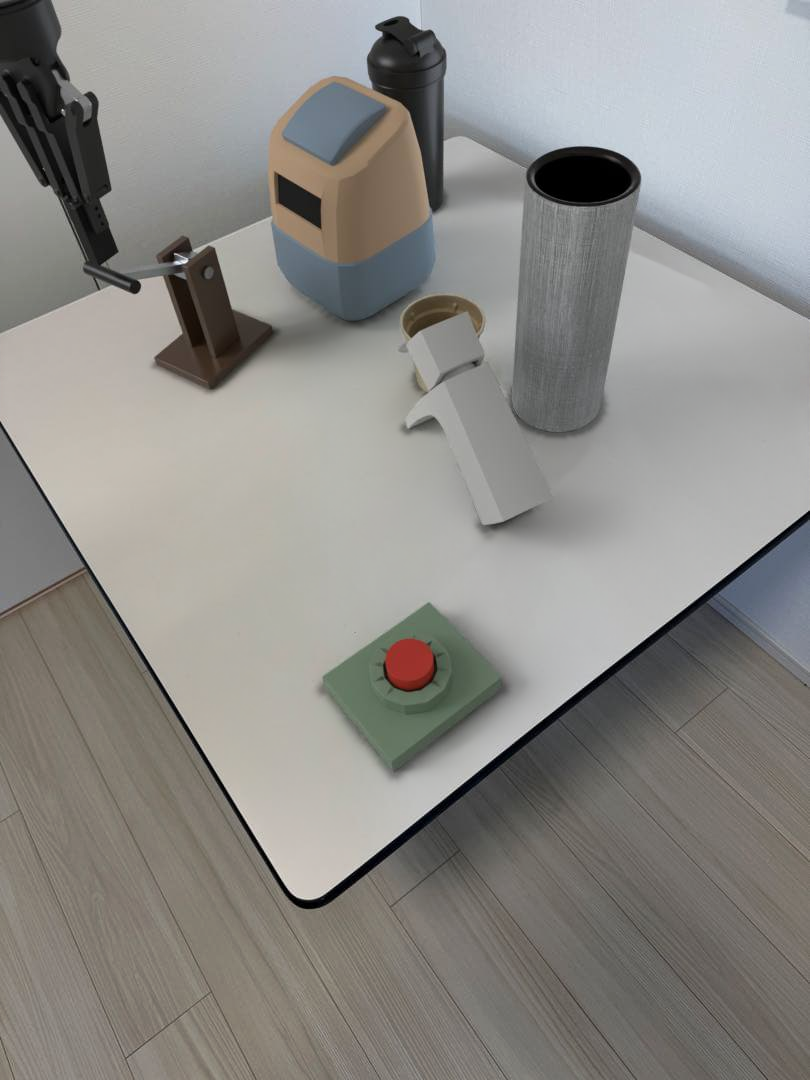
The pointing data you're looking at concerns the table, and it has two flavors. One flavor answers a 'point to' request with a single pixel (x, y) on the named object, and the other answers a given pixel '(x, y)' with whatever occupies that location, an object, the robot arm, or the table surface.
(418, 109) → the water bottle
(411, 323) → the flower pot
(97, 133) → the robot arm
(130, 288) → the tap lever
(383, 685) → the button box
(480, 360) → the faucet
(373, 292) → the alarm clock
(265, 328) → the brown lever stand
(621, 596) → the table surface
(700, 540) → the table surface
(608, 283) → the vase
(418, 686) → the button
